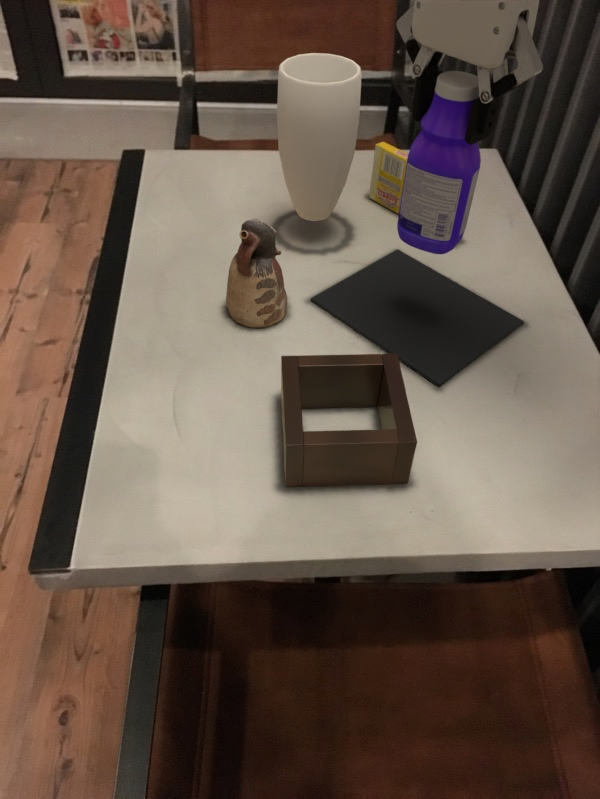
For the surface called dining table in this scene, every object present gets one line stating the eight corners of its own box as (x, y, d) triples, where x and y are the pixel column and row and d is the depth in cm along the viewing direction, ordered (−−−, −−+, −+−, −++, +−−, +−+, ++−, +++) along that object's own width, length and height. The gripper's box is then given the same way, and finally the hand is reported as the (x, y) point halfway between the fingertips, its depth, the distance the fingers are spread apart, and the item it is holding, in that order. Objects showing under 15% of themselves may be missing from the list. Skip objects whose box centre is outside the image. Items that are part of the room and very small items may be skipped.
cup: (323, 203, 99) (331, 45, 84) (365, 238, 93) (383, 74, 78) (261, 223, 95) (258, 61, 80) (301, 260, 89) (306, 93, 74)
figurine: (298, 305, 83) (300, 217, 74) (263, 336, 79) (262, 247, 70) (251, 284, 85) (248, 197, 77) (215, 313, 81) (207, 225, 73)
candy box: (462, 240, 94) (475, 184, 88) (452, 246, 92) (464, 190, 87) (377, 193, 102) (383, 139, 96) (367, 197, 101) (373, 143, 95)
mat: (523, 323, 81) (524, 321, 81) (438, 387, 74) (439, 384, 73) (397, 251, 91) (397, 249, 91) (310, 300, 83) (310, 298, 83)
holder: (390, 395, 73) (397, 353, 68) (407, 483, 65) (417, 442, 60) (281, 397, 72) (281, 355, 68) (285, 486, 64) (285, 445, 60)
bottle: (469, 239, 76) (507, 77, 63) (448, 264, 72) (484, 97, 60) (410, 219, 78) (434, 59, 66) (387, 242, 75) (409, 78, 62)
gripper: (617, -86, 51) (548, 148, 64) (436, -123, 59) (407, 90, 72) (562, -71, 47) (500, 173, 60) (377, -113, 56) (358, 109, 69)
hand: (450, 126), depth 66 cm, fingers closed on bottle, 5 cm apart
